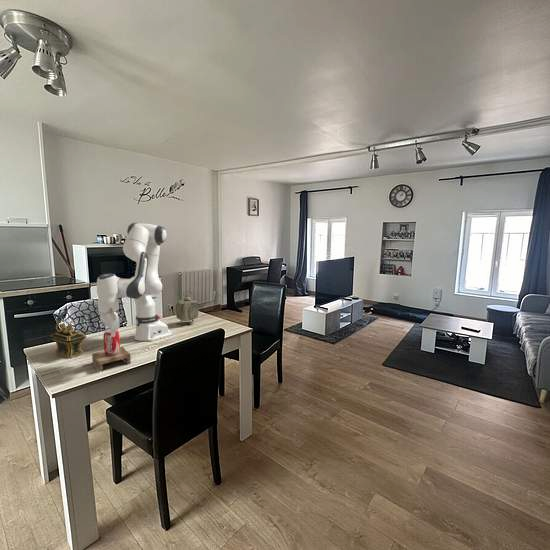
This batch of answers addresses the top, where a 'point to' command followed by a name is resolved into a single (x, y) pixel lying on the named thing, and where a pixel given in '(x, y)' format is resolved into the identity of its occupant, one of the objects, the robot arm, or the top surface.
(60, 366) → the top surface
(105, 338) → the soda can
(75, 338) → the decorative box
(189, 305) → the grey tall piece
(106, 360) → the walnut shelf
